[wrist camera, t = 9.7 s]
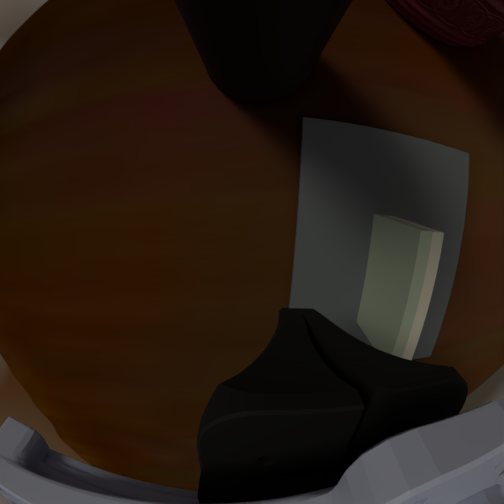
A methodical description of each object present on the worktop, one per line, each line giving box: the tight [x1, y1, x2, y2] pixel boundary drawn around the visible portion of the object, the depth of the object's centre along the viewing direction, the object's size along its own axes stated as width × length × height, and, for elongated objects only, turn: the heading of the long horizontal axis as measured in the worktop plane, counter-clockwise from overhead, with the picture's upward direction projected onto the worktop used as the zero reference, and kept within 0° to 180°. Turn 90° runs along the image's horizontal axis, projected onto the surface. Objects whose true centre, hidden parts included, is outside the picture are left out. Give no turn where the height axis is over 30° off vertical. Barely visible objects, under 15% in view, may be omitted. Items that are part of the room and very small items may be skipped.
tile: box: [356, 214, 444, 360], centre depth 16 cm, size 2×8×6 cm, turn 177°
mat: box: [289, 117, 469, 359], centre depth 19 cm, size 18×14×1 cm
